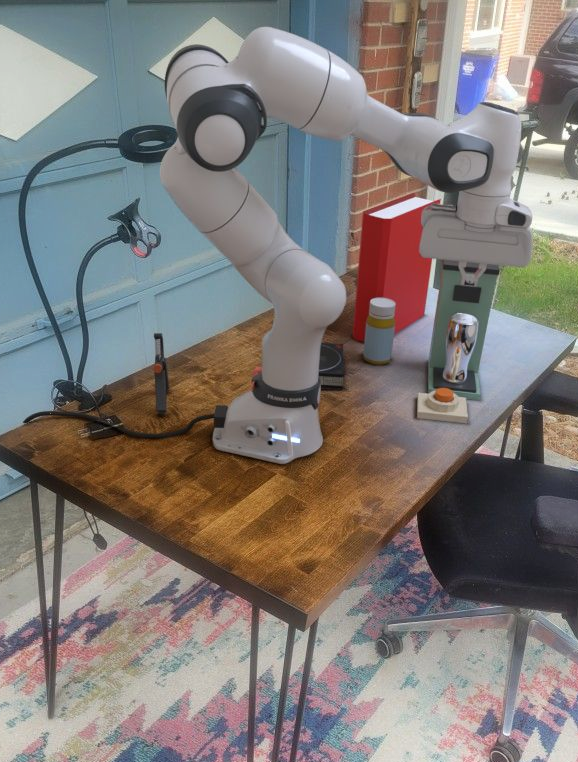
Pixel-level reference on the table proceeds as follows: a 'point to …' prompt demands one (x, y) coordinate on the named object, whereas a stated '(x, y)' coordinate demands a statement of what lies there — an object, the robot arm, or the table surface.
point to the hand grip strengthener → (160, 375)
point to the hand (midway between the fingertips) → (468, 285)
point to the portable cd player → (331, 366)
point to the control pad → (441, 408)
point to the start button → (444, 395)
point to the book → (392, 262)
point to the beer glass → (459, 346)
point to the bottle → (379, 331)
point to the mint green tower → (460, 301)
